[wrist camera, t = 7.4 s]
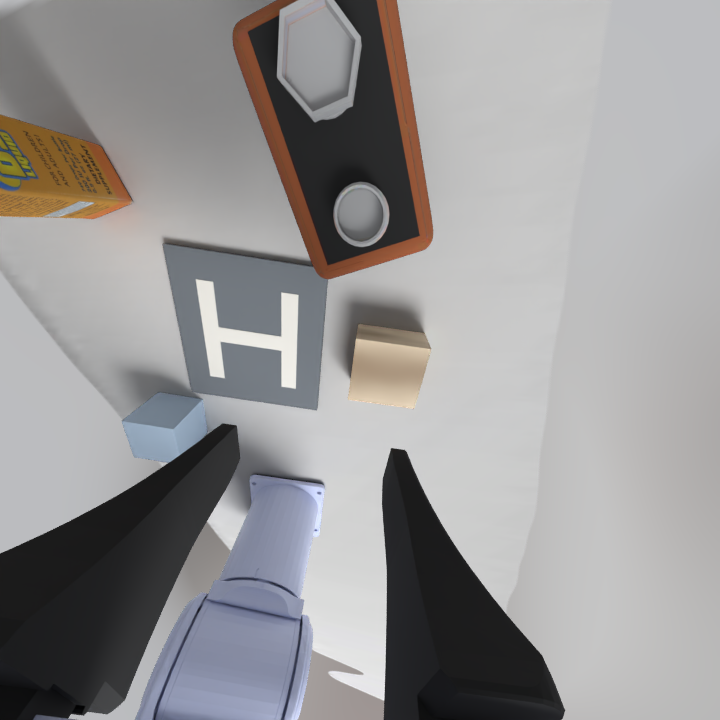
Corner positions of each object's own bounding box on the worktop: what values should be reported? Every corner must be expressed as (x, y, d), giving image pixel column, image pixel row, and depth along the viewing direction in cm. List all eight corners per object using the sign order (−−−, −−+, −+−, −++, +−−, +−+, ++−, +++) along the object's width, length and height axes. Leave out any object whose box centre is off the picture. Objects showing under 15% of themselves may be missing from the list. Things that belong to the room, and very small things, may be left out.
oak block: (409, 386, 22) (414, 408, 20) (351, 378, 22) (347, 399, 20) (424, 331, 20) (431, 349, 17) (358, 322, 20) (356, 338, 17)
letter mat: (317, 407, 24) (316, 410, 23) (194, 389, 23) (191, 392, 23) (328, 268, 18) (327, 269, 18) (166, 243, 18) (162, 243, 17)
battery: (381, 96, 14) (390, -122, 5) (409, 233, 17) (445, 250, 8) (305, 129, 15) (195, -9, 6) (344, 255, 18) (311, 291, 9)
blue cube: (208, 431, 26) (181, 464, 22) (167, 424, 26) (134, 457, 22) (203, 398, 24) (173, 429, 21) (159, 391, 24) (121, 421, 20)
